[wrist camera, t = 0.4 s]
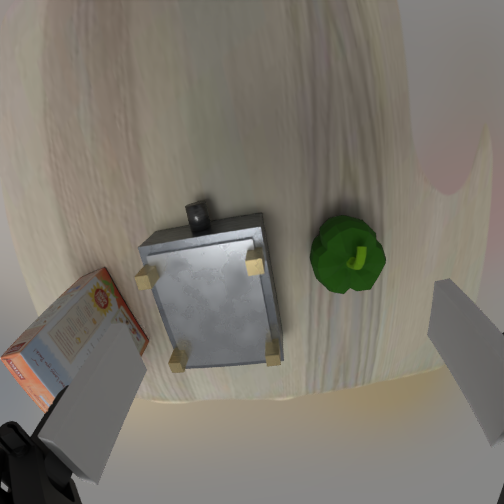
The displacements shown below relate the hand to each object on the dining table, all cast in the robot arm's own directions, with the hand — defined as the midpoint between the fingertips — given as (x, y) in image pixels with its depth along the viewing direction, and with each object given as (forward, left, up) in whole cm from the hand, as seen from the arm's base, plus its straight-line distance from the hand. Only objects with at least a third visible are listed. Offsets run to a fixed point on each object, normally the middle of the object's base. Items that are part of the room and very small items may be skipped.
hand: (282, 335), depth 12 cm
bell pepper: (+6, +7, -27) cm, 28 cm away
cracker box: (+12, -27, -27) cm, 40 cm away
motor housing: (+9, -9, -26) cm, 29 cm away
